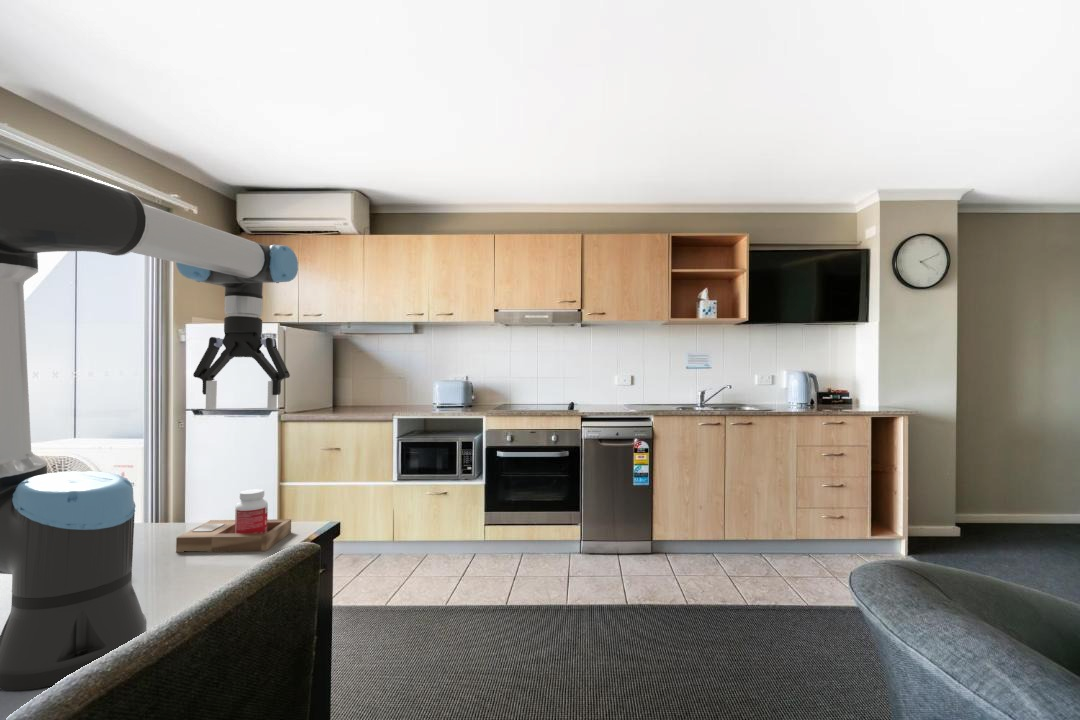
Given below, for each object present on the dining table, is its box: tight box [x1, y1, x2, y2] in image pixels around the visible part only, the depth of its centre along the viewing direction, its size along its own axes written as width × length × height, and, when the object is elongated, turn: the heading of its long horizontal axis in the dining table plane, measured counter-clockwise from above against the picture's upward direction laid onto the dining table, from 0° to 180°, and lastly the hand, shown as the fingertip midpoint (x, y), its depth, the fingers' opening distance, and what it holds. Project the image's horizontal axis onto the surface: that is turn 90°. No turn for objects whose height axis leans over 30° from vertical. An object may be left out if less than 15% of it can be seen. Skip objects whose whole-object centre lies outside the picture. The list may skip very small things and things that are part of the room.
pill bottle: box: [234, 488, 269, 533], centre depth 110 cm, size 6×6×11 cm
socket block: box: [175, 518, 292, 553], centre depth 110 cm, size 12×18×3 cm, turn 94°
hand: (241, 409), depth 114 cm, fingers open, 13 cm apart
